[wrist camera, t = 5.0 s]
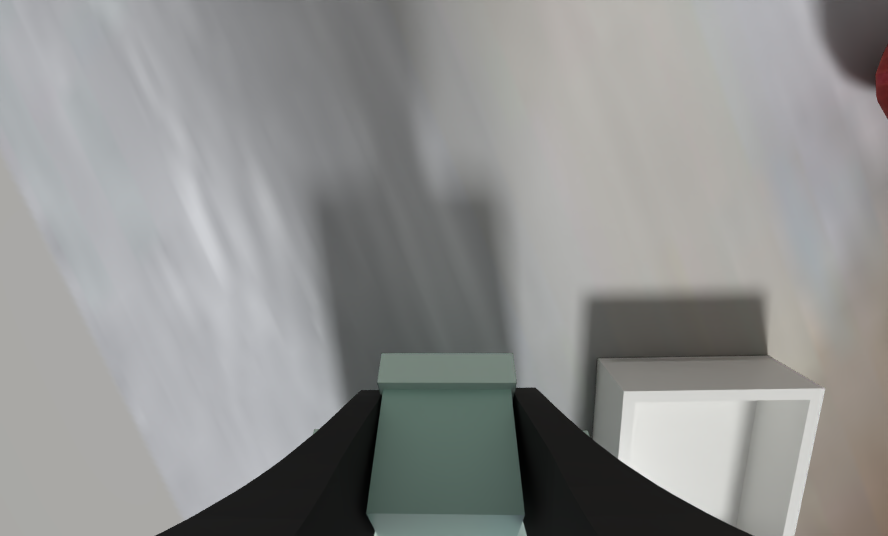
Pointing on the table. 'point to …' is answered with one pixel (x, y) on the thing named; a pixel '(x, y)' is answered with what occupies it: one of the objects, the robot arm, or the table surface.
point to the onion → (882, 82)
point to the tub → (714, 432)
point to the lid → (446, 447)
